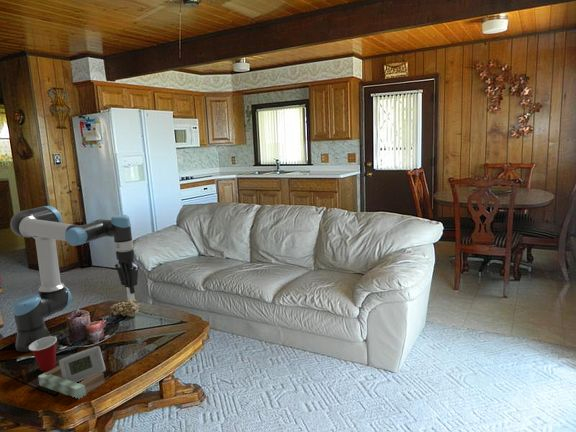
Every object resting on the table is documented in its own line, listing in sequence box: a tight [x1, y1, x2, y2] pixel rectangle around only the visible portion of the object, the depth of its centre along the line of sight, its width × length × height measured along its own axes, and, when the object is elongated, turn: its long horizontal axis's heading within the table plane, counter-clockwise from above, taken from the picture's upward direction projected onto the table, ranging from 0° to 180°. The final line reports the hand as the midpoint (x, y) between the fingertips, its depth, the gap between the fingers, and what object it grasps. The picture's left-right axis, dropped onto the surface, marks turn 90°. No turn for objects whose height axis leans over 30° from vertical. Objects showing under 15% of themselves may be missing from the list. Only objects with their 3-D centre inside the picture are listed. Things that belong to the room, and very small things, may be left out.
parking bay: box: [37, 364, 106, 400], centre depth 175 cm, size 24×12×4 cm, turn 62°
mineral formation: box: [109, 298, 141, 318], centre depth 242 cm, size 8×13×15 cm
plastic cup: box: [29, 335, 58, 372], centre depth 188 cm, size 11×11×12 cm
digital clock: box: [58, 345, 107, 383], centre depth 179 cm, size 16×9×11 cm, turn 121°
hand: (131, 299), depth 201 cm, fingers closed
